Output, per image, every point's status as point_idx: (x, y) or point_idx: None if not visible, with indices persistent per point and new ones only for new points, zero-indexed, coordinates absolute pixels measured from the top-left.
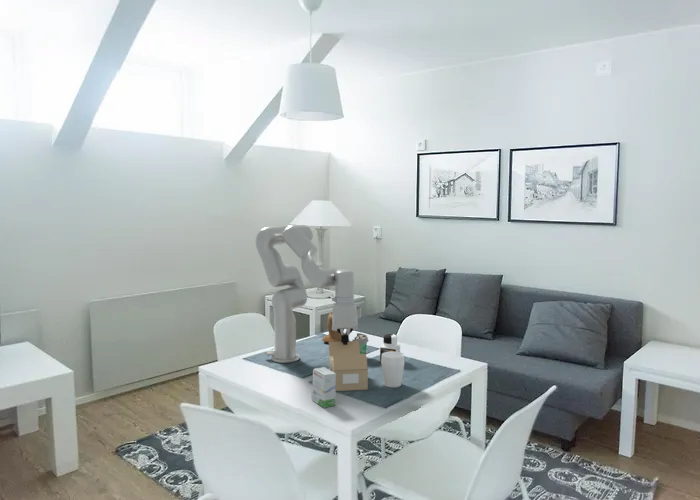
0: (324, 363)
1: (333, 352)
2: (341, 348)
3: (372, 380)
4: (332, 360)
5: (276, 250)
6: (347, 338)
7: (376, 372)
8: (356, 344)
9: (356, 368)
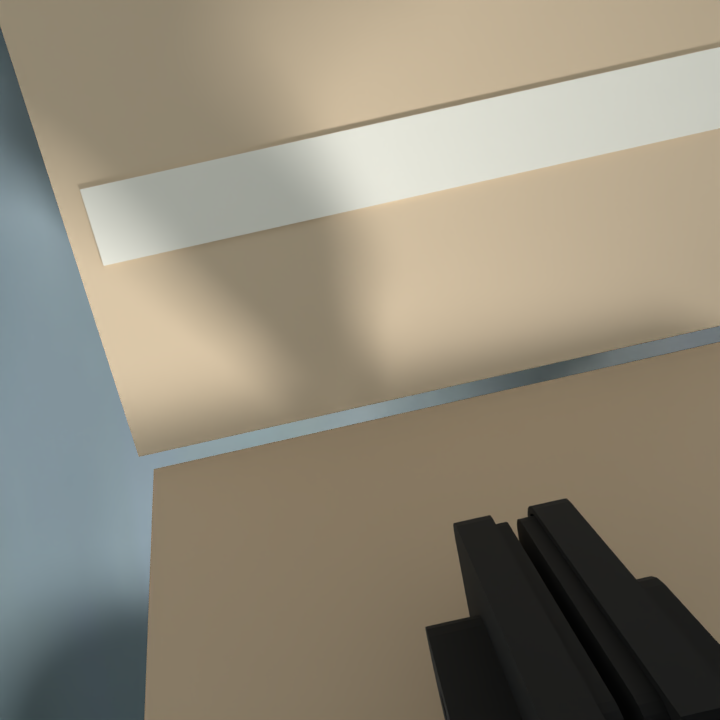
0: None
1: (713, 406)
2: None
3: (11, 118)
4: (706, 2)
5: None
6: (495, 695)
7: (9, 438)
8: (214, 697)
9: None
